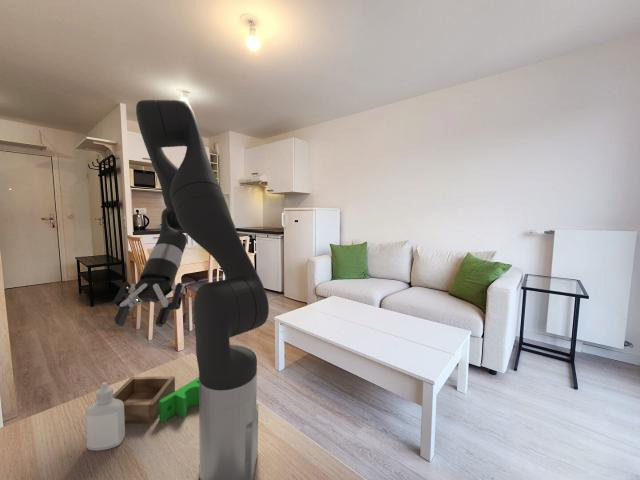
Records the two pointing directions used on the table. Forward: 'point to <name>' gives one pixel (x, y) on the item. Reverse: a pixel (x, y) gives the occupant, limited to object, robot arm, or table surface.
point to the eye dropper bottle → (105, 421)
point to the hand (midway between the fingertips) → (138, 325)
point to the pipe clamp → (179, 400)
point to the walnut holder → (144, 397)
